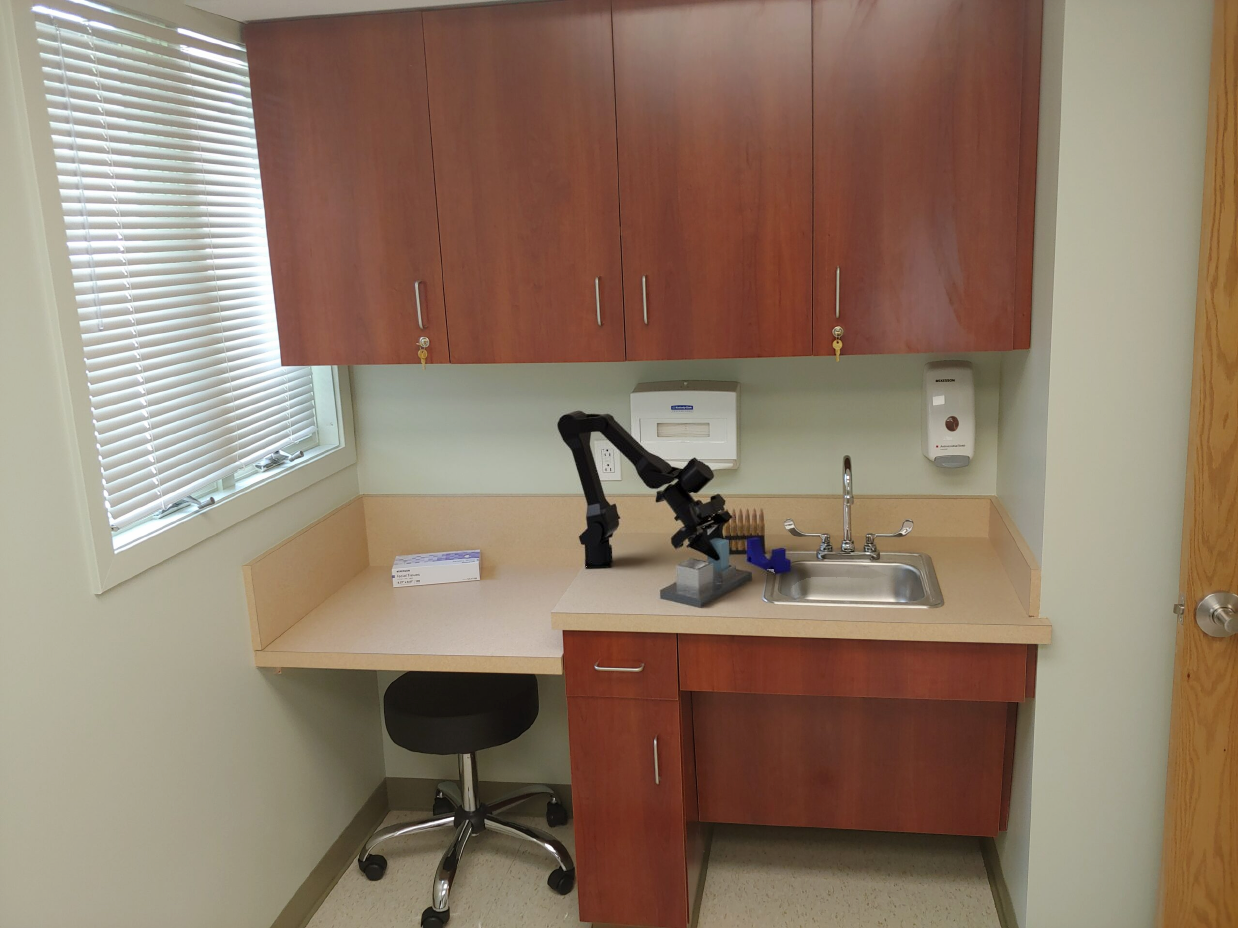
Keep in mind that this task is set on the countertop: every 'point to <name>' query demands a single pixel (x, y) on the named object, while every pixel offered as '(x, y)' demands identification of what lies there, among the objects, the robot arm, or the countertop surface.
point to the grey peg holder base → (703, 583)
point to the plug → (720, 554)
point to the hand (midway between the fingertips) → (723, 557)
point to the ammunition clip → (744, 531)
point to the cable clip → (760, 560)
